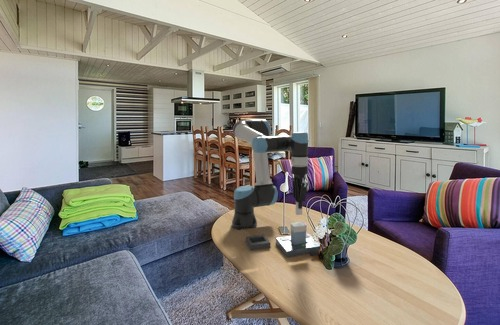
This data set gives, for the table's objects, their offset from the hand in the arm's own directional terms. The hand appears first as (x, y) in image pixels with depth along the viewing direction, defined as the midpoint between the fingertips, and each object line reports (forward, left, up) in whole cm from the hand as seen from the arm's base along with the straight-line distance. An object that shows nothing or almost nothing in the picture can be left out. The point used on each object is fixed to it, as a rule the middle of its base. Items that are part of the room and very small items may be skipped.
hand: (298, 214), depth 123 cm
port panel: (0, 0, -18) cm, 18 cm away
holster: (-9, -18, -18) cm, 27 cm away
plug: (0, 0, -17) cm, 17 cm away
